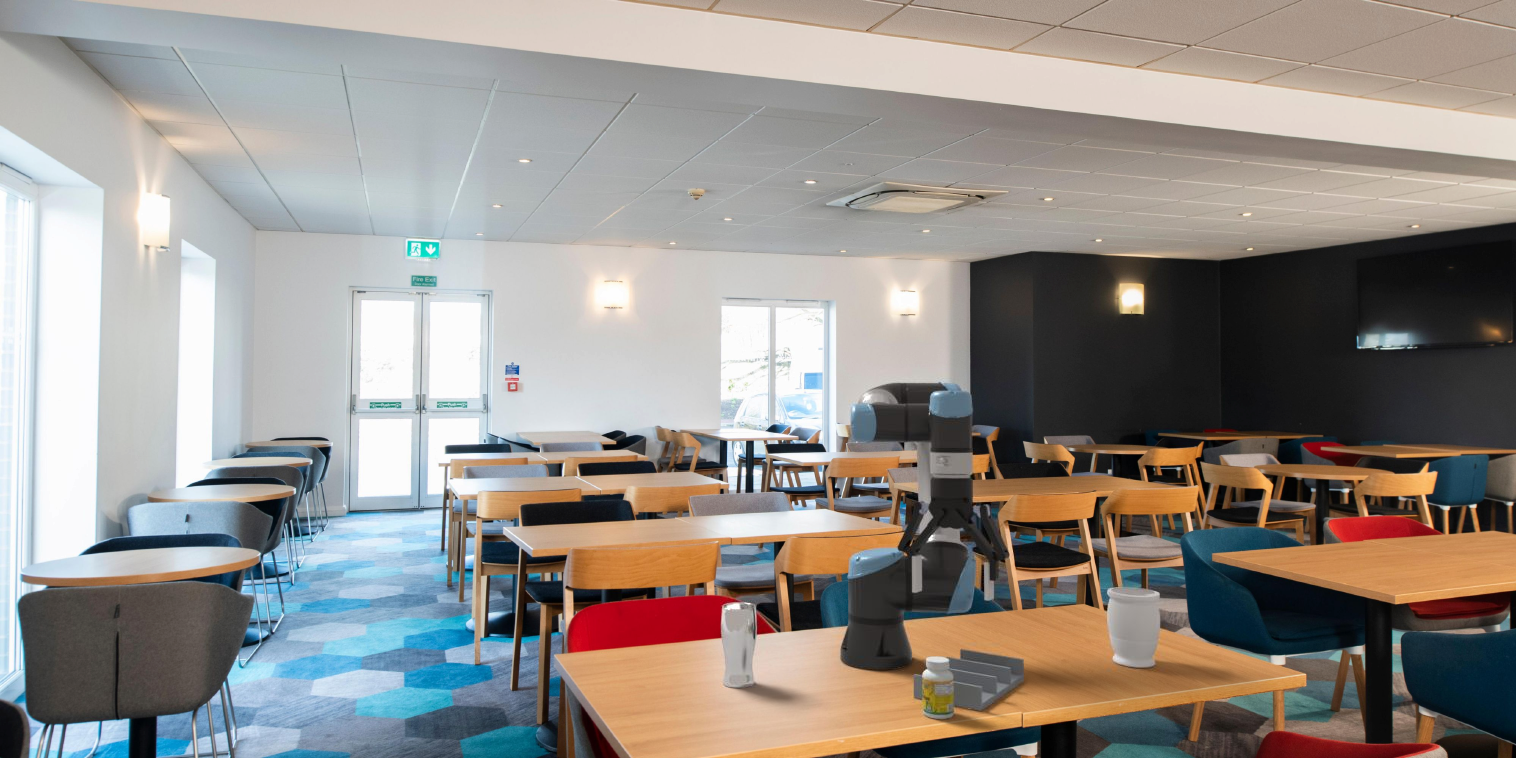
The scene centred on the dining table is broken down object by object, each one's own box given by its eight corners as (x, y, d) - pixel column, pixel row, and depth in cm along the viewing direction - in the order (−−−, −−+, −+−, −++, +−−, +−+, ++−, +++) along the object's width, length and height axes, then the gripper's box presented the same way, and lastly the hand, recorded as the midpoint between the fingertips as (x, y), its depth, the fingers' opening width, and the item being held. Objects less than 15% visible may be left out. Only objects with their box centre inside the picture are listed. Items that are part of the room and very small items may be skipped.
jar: (1166, 671, 186) (1165, 597, 186) (1112, 668, 188) (1111, 595, 189) (1154, 657, 196) (1153, 587, 197) (1103, 654, 198) (1102, 585, 199)
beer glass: (725, 690, 173) (725, 610, 174) (717, 679, 180) (717, 603, 180) (760, 687, 175) (761, 608, 176) (751, 676, 182) (751, 601, 182)
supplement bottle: (957, 719, 157) (957, 663, 158) (926, 720, 157) (926, 663, 157) (948, 709, 163) (948, 654, 163) (919, 709, 162) (919, 655, 163)
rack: (913, 697, 169) (913, 674, 169) (961, 669, 187) (961, 648, 187) (980, 711, 161) (980, 687, 162) (1023, 680, 180) (1023, 659, 180)
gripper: (879, 474, 169) (879, 591, 167) (1012, 479, 155) (1014, 606, 154) (897, 473, 175) (897, 585, 174) (1026, 477, 161) (1028, 599, 160)
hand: (952, 595), depth 164 cm, fingers open, 13 cm apart
